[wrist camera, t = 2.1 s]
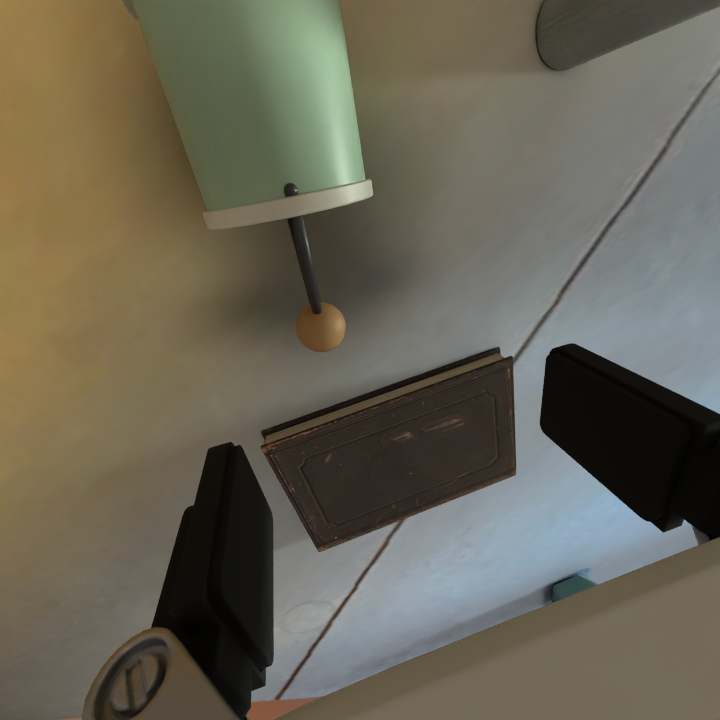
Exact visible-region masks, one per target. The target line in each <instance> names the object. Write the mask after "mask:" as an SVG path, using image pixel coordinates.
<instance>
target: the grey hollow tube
mask: <svg viewBox="0 0 720 720" xmlns="http://www.w3.org/2000/svg"><path fill="white" fill-rule="evenodd" d="M718 7H720V0H545V1H544V3H543V6H542V8H541V11H540V15H539V19H538V24H537V43H538V49H539V52H540V54H541V57H542V58H543V60H544V62H545V63H546V64H547V65H548V66H549V67H551V68H553V69H556V70H566V69H569V68H572V67H575V66H578V65H580V64H583V63H585V62H587V61H590V60H592V59H595V58H597V57H600V56H602V55H604V54H607V53H609V52H612V51H614V50H616V49H619V48H621V47H624V46H626V45H629V44H631V43H633V42H636V41H638V40H641V39H643V38H646V37H648V36H650V35H653V34H655V33H658V32H660V31H662V30H665V29H667V28H670V27H672V26H675V25H677V24H679V23H682V22H684V21H687V20H689V19H691V18H694V17H696V16H699V15H701V14H704V13H706V12H708V11H711V10H713V9H716V8H718Z"/></svg>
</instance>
